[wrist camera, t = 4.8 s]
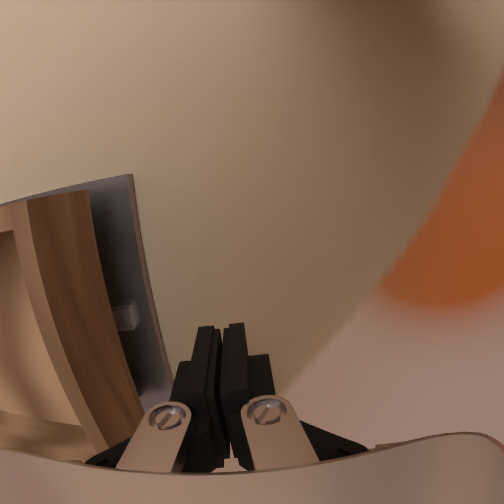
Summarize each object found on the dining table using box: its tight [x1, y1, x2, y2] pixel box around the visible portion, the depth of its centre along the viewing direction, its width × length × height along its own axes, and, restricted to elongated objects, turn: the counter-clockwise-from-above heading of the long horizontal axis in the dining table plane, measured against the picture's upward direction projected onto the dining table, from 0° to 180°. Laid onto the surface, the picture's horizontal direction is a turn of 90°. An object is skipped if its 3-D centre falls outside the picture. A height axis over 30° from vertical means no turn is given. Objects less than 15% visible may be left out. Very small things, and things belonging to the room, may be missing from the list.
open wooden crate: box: [0, 189, 145, 463], centre depth 12 cm, size 14×14×7 cm
